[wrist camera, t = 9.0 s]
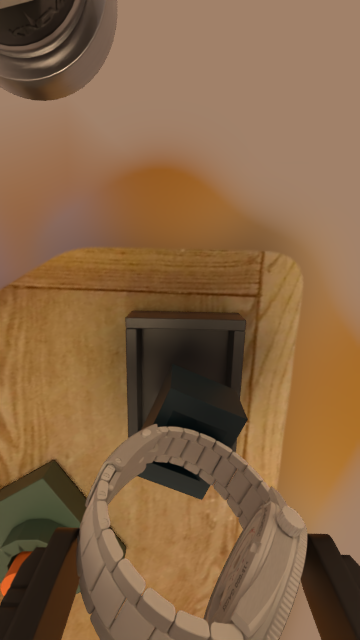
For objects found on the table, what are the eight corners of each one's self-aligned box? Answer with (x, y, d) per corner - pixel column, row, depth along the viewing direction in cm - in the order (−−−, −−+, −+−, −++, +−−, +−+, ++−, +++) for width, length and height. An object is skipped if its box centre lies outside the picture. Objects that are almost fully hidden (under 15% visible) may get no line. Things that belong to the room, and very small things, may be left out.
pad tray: (131, 310, 22) (125, 317, 19) (238, 313, 22) (246, 320, 19) (134, 437, 24) (128, 458, 22) (229, 439, 24) (235, 460, 22)
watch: (224, 469, 18) (288, 772, 8) (113, 426, 17) (6, 695, 7) (263, 400, 17) (405, 644, 6) (146, 351, 16) (80, 534, 6)
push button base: (-21, 501, 26) (-57, 544, 22) (54, 459, 25) (30, 496, 21) (54, 582, 28) (34, 635, 24) (126, 547, 27) (117, 596, 23)
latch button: (5, 560, 23) (-10, 584, 21) (38, 542, 22) (27, 566, 21) (31, 587, 23) (19, 613, 22) (64, 571, 23) (55, 596, 21)
